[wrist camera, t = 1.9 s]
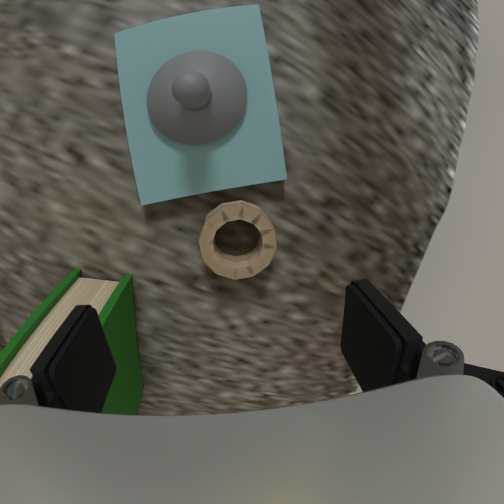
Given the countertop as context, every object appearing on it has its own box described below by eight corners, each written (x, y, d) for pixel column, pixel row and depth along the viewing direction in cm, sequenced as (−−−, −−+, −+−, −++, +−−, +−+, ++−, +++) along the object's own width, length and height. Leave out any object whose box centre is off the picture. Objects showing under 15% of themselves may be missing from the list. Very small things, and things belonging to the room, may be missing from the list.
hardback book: (74, 268, 31) (-48, 423, 8) (132, 274, 32) (36, 467, 9) (96, 379, 37) (47, 521, 14) (143, 387, 38) (113, 542, 15)
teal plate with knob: (257, 10, 23) (267, -26, 15) (284, 177, 29) (304, 190, 22) (119, 37, 22) (89, 11, 15) (145, 202, 29) (120, 224, 21)
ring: (266, 195, 30) (270, 201, 27) (274, 260, 32) (279, 271, 29) (196, 207, 30) (192, 214, 27) (209, 271, 32) (208, 284, 29)
